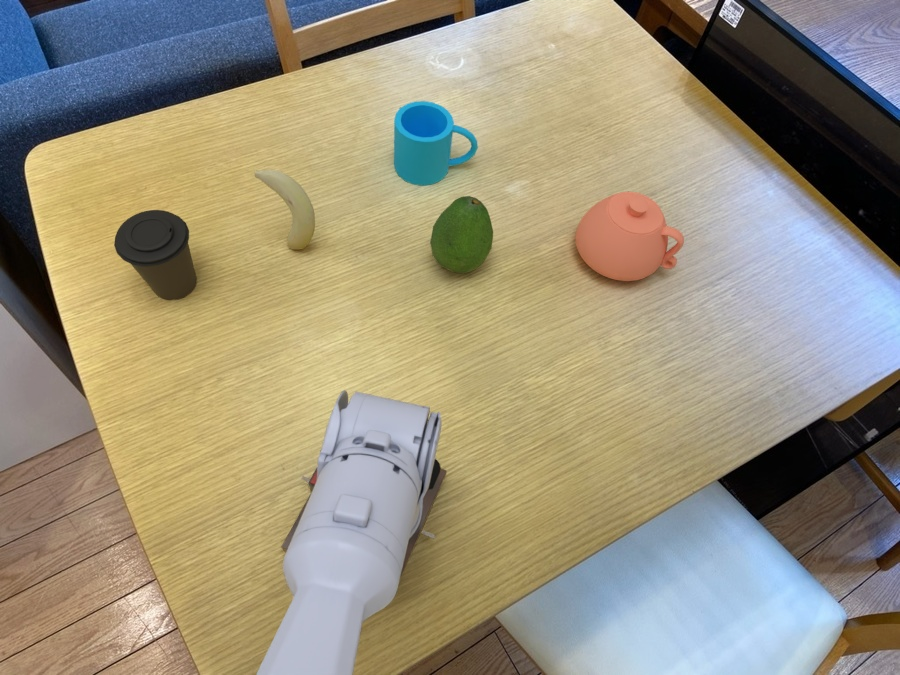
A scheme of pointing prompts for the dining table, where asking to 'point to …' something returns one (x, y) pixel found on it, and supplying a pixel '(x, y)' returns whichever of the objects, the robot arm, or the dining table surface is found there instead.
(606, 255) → the sugar bowl
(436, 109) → the mug
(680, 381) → the dining table surface
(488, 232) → the fruit
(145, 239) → the coffee cup
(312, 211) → the fruit
